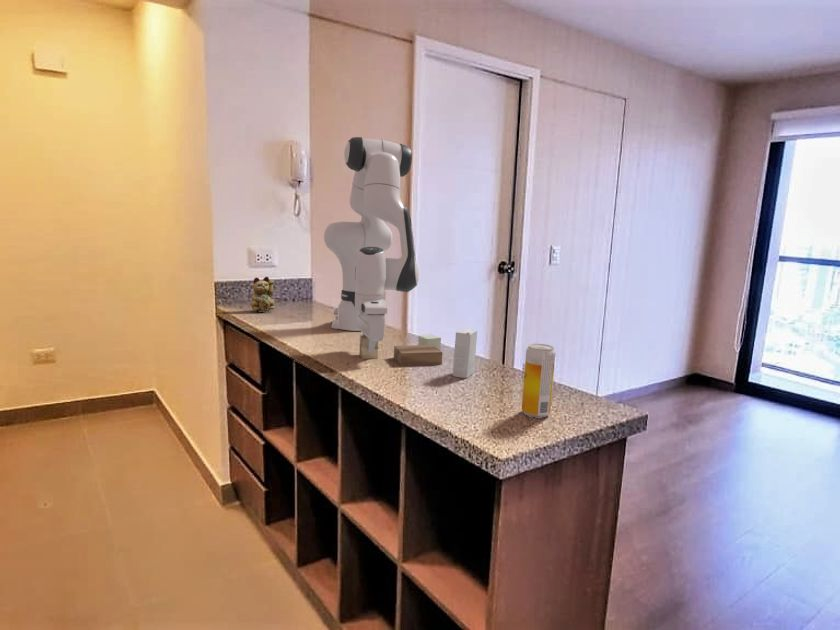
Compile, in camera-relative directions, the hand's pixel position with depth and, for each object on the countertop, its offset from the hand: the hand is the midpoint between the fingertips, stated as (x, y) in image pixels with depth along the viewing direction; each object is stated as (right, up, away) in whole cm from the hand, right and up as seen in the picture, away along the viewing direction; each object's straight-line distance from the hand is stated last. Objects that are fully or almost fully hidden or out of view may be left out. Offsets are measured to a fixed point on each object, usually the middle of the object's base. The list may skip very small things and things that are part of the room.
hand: (368, 349), depth 159 cm
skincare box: (+27, -6, -15) cm, 31 cm away
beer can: (+40, -11, -42) cm, 60 cm away
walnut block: (+14, -4, -2) cm, 15 cm away
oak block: (0, -2, 0) cm, 2 cm away
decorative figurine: (-51, +11, +68) cm, 86 cm away
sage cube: (+18, -1, +9) cm, 20 cm away
